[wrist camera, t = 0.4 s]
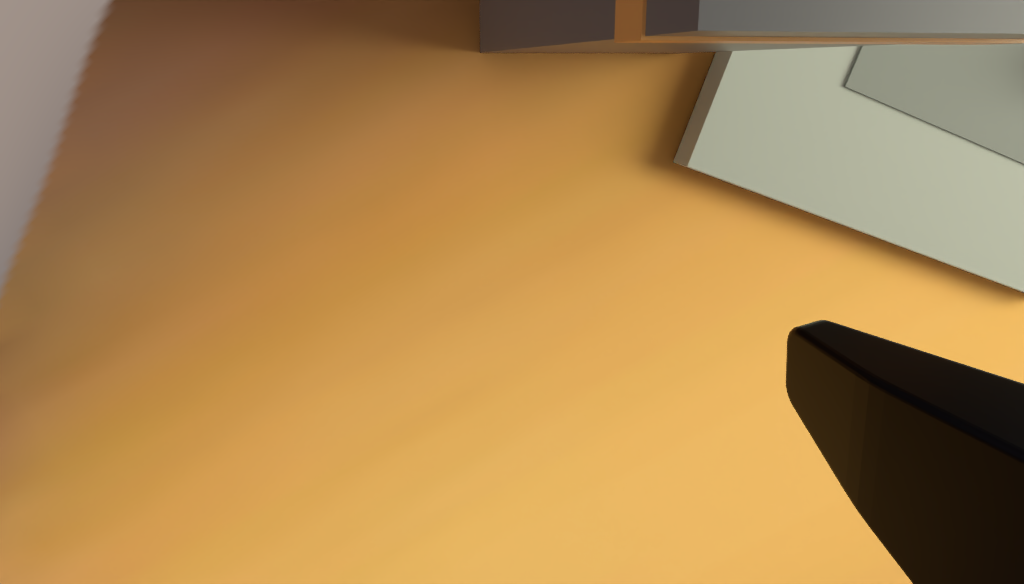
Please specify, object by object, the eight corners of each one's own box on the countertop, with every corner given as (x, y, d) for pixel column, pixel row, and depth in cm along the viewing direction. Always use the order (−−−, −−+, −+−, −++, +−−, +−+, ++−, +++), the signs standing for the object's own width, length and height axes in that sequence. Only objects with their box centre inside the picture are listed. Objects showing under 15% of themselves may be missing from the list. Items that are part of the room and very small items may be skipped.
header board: (1036, 297, 27) (1134, 330, 23) (673, 162, 23) (729, 178, 19) (1248, -132, 24) (1393, -165, 21) (879, -368, 20) (984, -453, 17)
